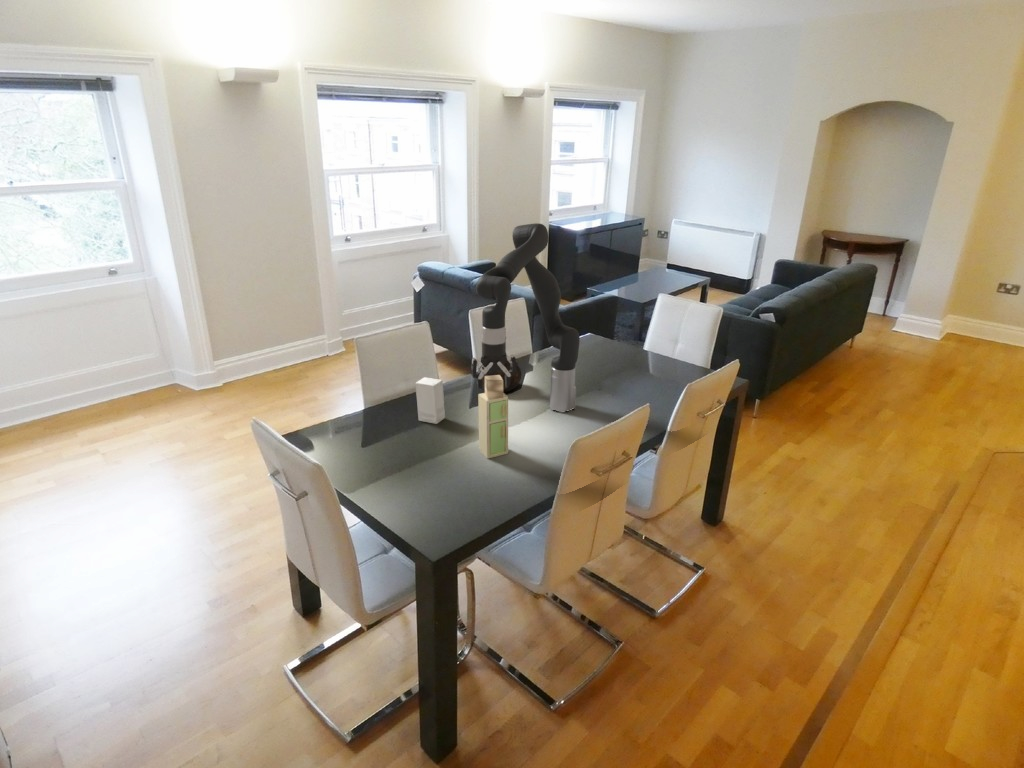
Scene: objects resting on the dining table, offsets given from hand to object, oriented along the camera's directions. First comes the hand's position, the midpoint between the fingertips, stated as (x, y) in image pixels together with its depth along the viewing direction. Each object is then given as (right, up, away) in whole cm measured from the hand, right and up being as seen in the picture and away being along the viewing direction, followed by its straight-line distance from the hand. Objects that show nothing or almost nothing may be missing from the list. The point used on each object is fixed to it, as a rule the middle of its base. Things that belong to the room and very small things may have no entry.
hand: (493, 387), depth 200 cm
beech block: (0, -2, +1) cm, 3 cm away
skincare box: (-24, -12, +33) cm, 43 cm away
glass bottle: (+1, -1, +62) cm, 62 cm away
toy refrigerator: (0, -22, +9) cm, 24 cm away
